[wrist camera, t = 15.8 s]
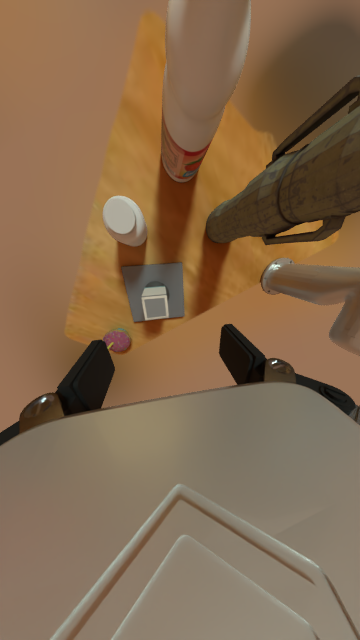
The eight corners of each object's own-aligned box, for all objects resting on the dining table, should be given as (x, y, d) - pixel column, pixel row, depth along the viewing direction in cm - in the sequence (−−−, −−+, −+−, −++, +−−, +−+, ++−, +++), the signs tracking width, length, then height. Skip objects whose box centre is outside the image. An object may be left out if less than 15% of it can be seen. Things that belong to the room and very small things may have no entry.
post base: (181, 262, 42) (189, 265, 31) (183, 314, 50) (190, 331, 39) (122, 266, 40) (108, 271, 29) (134, 320, 48) (127, 339, 37)
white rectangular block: (165, 285, 41) (166, 294, 32) (166, 304, 43) (169, 317, 34) (144, 287, 40) (140, 297, 31) (147, 306, 43) (145, 320, 34)
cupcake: (103, 335, 49) (89, 358, 39) (116, 319, 47) (104, 338, 36) (125, 346, 53) (116, 370, 42) (137, 331, 50) (131, 352, 40)
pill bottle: (152, 241, 38) (149, 235, 25) (125, 250, 38) (108, 248, 25) (140, 207, 35) (130, 179, 22) (111, 217, 35) (82, 194, 22)
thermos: (209, 252, 42) (355, 250, 11) (201, 206, 37) (446, -60, 6) (236, 243, 42) (458, 214, 11) (232, 196, 37) (653, -134, 5)
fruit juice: (170, 114, 29) (247, -768, 4) (206, 146, 32) (385, -249, 7) (154, 168, 32) (143, -127, 7) (189, 192, 35) (266, 41, 10)
